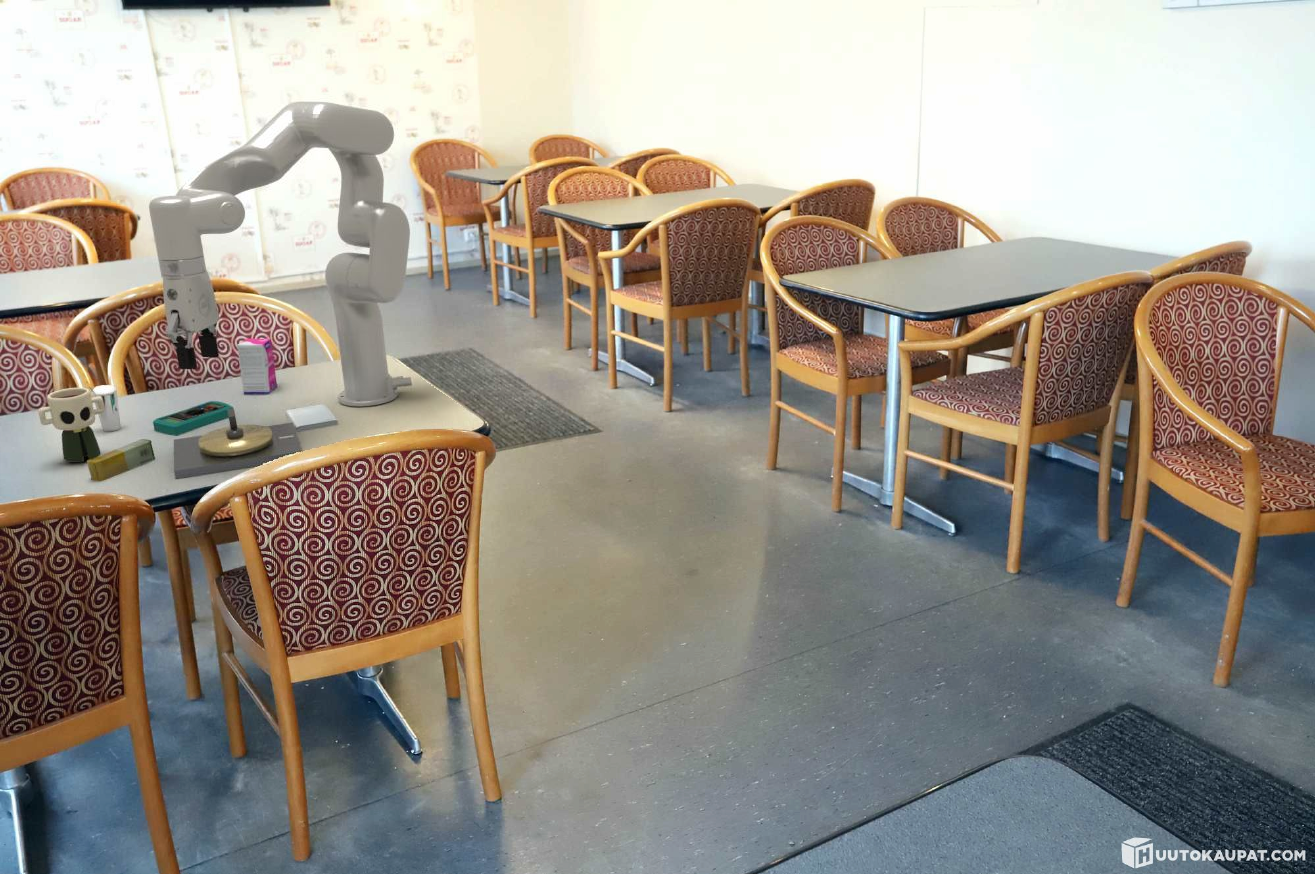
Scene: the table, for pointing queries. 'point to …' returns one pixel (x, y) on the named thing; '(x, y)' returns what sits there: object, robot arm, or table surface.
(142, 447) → the medication box
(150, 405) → the table surface
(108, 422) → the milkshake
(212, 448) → the dial
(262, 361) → the supplement box
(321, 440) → the table surface
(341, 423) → the table surface
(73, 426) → the character mug
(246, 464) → the base plate
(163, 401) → the table surface
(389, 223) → the robot arm
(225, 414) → the digital multimeter
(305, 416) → the hard drive
